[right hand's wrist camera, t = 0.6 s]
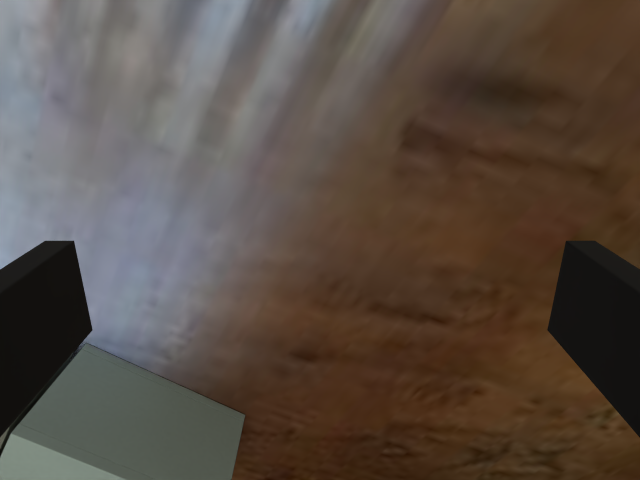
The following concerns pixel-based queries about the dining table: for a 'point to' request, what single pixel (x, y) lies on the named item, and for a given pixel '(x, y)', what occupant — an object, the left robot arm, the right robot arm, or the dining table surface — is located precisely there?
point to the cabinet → (121, 428)
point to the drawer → (30, 406)
